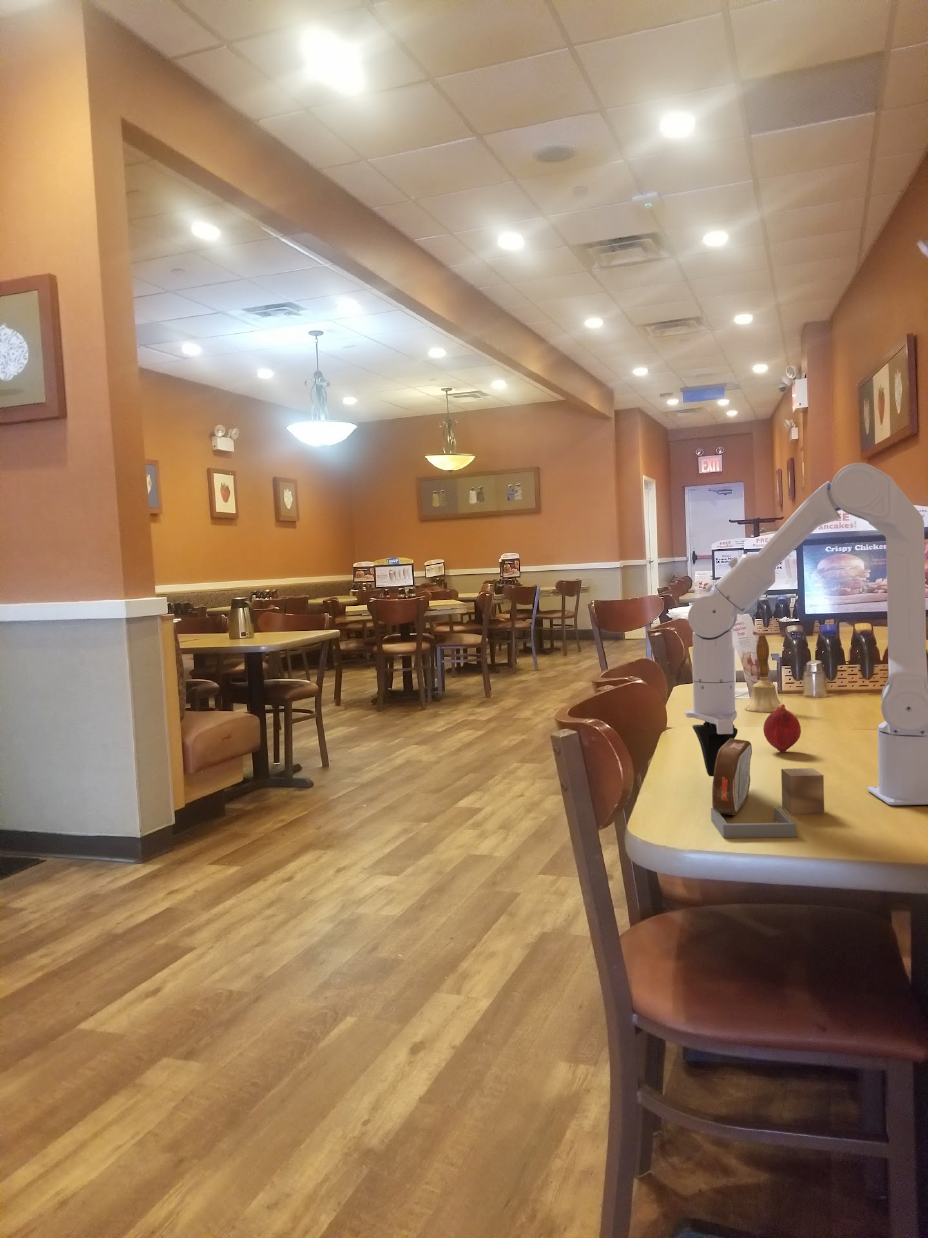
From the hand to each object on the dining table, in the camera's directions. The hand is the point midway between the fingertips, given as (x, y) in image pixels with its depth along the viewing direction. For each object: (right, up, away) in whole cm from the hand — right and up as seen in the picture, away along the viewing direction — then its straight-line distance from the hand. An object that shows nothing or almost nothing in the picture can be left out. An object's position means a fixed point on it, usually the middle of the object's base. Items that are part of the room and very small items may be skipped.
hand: (715, 775), depth 126 cm
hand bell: (+28, +3, +62) cm, 68 cm away
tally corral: (-2, -3, -21) cm, 21 cm away
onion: (+17, 0, +20) cm, 26 cm away
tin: (-1, -2, -12) cm, 12 cm away
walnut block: (+7, -2, -14) cm, 16 cm away
